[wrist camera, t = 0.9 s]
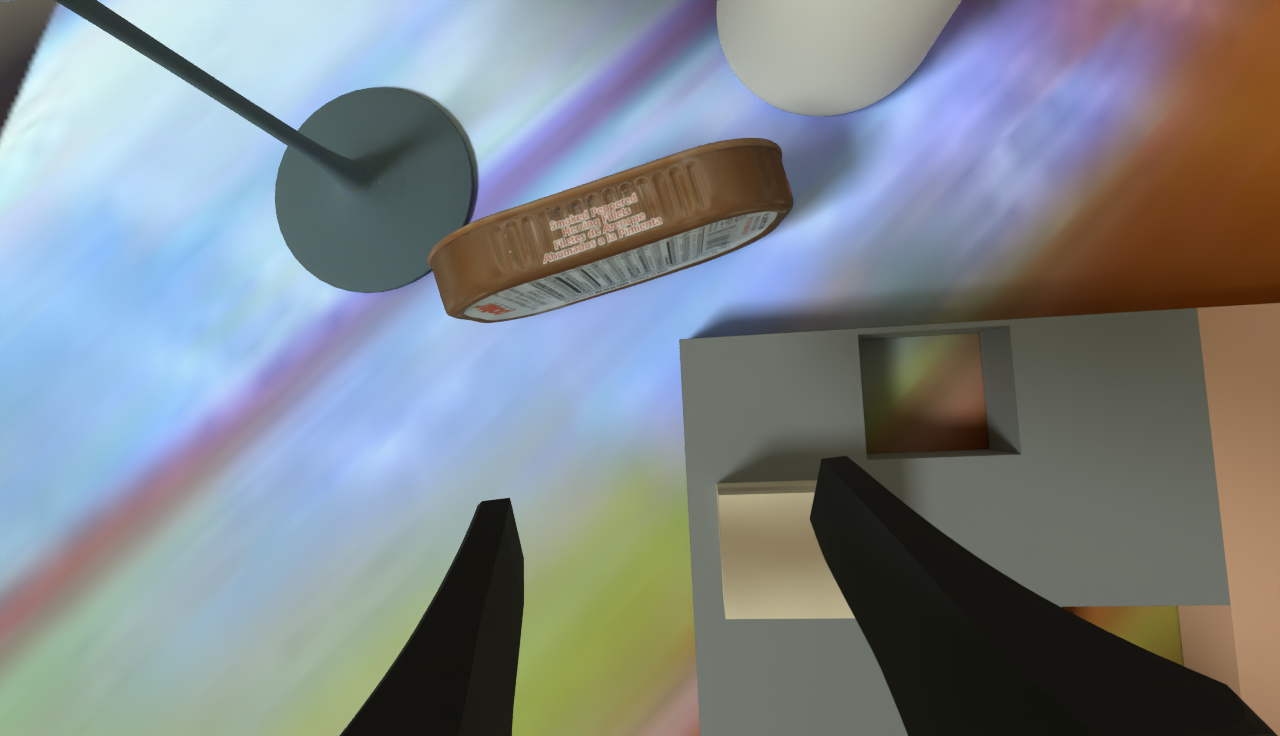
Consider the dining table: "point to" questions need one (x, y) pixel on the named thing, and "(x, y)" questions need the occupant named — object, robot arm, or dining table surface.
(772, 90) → the cup
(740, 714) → the board
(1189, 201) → the dining table surface
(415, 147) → the cocktail glass
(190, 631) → the dining table surface
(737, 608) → the beech block
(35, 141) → the dining table surface
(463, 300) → the tin
